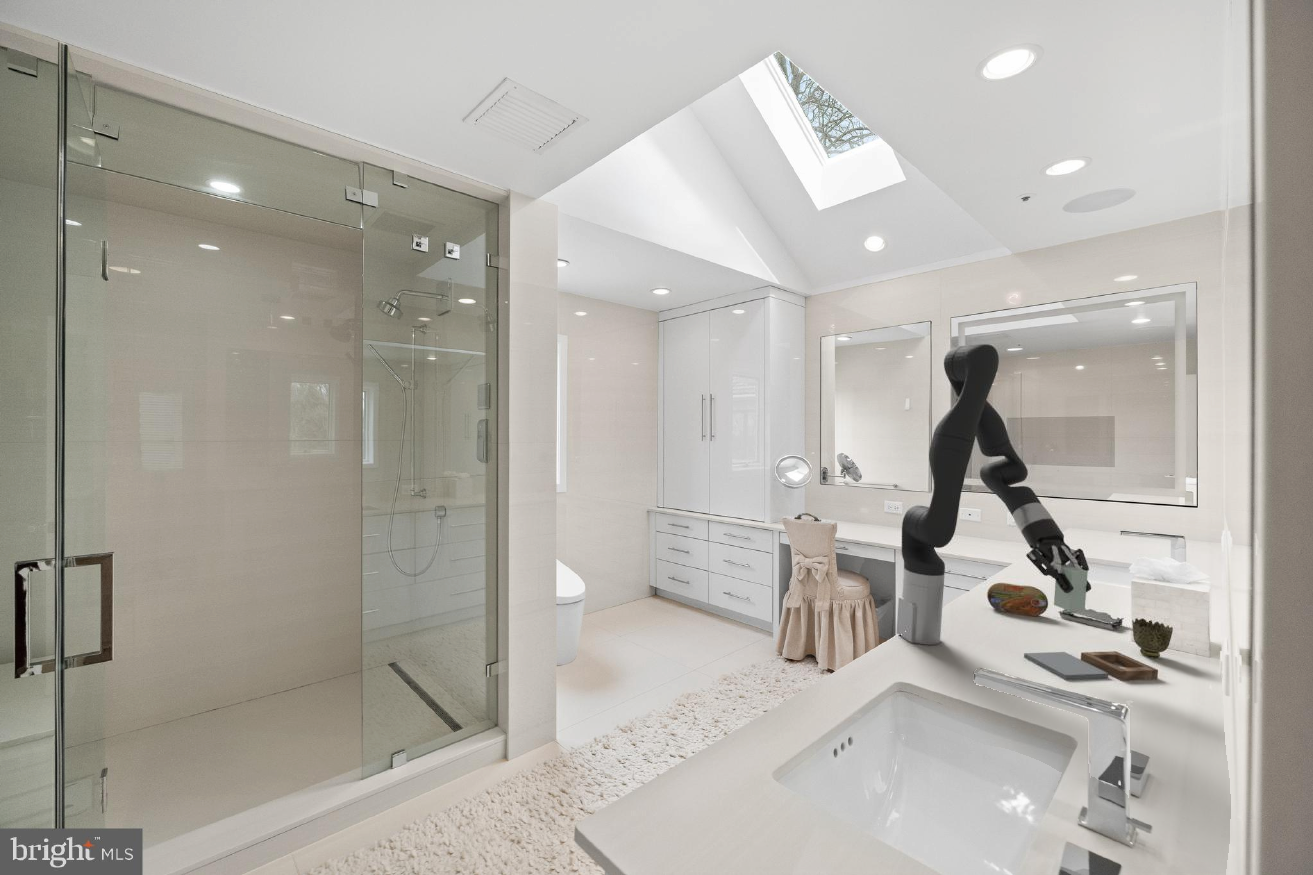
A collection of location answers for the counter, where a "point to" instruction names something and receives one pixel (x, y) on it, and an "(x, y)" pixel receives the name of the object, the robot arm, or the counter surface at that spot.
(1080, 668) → the slate coaster
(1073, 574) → the sage block
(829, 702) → the counter surface
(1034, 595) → the tin
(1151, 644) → the cup
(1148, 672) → the walnut pocket
